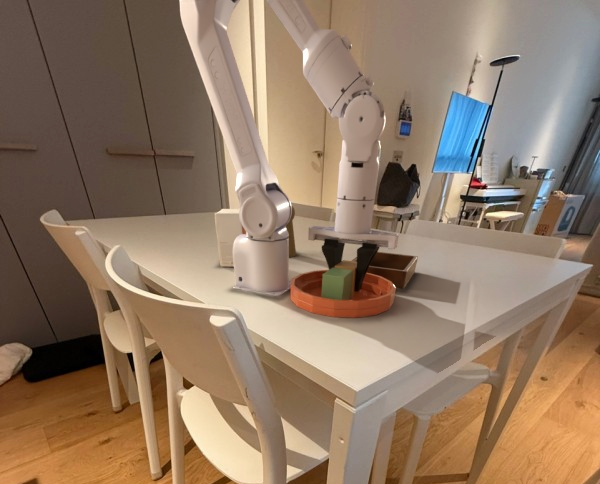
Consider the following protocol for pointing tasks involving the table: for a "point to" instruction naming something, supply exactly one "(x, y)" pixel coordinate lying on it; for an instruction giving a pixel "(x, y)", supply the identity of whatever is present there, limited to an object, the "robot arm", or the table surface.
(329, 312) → the orange round tray
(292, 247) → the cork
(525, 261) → the table surface
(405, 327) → the table surface
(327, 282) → the green block
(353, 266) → the light brown block
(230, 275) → the table surface
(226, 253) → the small box
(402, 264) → the holder
